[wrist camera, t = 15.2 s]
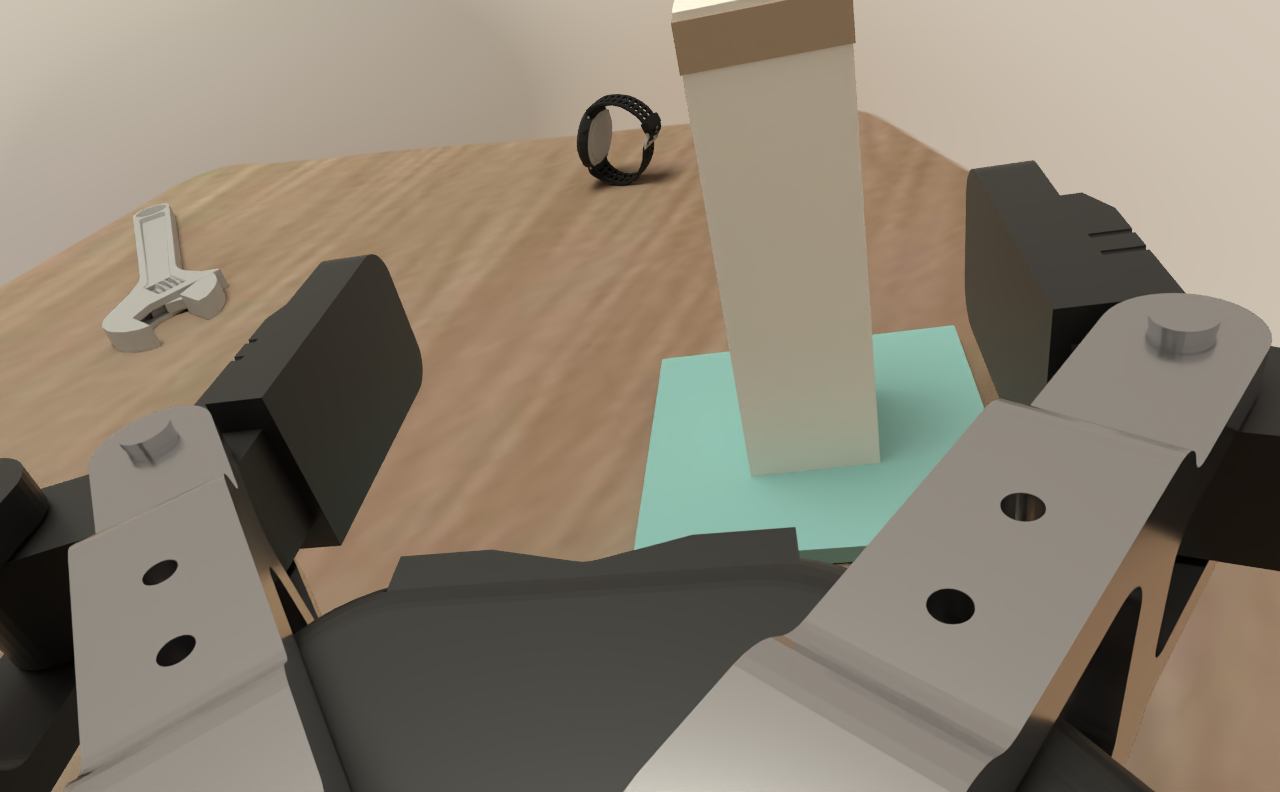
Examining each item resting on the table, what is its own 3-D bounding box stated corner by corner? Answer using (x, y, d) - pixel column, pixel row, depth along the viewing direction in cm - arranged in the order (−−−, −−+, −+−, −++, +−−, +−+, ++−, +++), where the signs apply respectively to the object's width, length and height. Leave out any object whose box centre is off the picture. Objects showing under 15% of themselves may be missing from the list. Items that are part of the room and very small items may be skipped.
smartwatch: (621, 164, 56) (603, 85, 54) (679, 174, 53) (663, 90, 50) (573, 190, 54) (552, 109, 52) (630, 202, 51) (611, 116, 48)
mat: (636, 576, 26) (631, 562, 26) (665, 371, 35) (662, 359, 35) (1029, 550, 24) (1029, 534, 24) (954, 339, 33) (954, 325, 33)
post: (749, 477, 28) (669, 14, 20) (746, 402, 31) (677, -20, 24) (882, 463, 27) (851, -22, 20) (865, 388, 31) (832, -52, 23)
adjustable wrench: (141, 231, 68) (130, 209, 67) (227, 204, 69) (216, 183, 68) (112, 367, 47) (95, 339, 46) (234, 325, 49) (219, 297, 48)
